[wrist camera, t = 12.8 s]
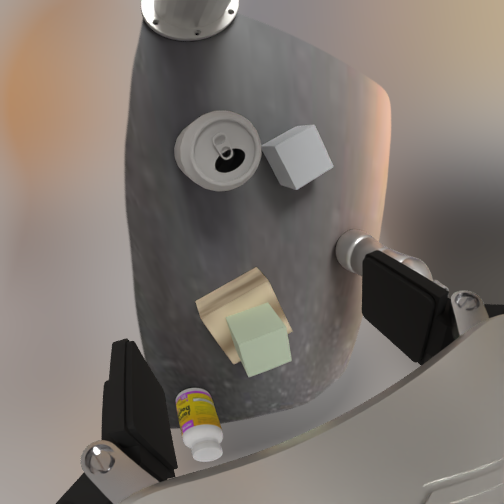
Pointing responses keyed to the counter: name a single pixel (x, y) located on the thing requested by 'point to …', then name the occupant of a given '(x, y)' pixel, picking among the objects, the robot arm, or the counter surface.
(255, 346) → the sage-green block
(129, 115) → the counter surface
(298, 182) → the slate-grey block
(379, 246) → the plastic bottle
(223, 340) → the beech block
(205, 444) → the supplement bottle
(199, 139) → the can
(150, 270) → the counter surface
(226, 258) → the counter surface
